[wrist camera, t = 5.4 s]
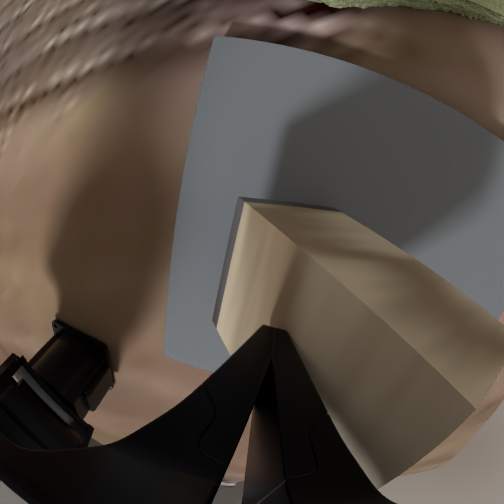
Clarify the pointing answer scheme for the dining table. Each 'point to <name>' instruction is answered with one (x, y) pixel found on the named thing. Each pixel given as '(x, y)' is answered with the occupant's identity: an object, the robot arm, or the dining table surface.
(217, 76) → the rubber pad
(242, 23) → the dining table surface
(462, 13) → the washcloth
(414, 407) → the maple block
